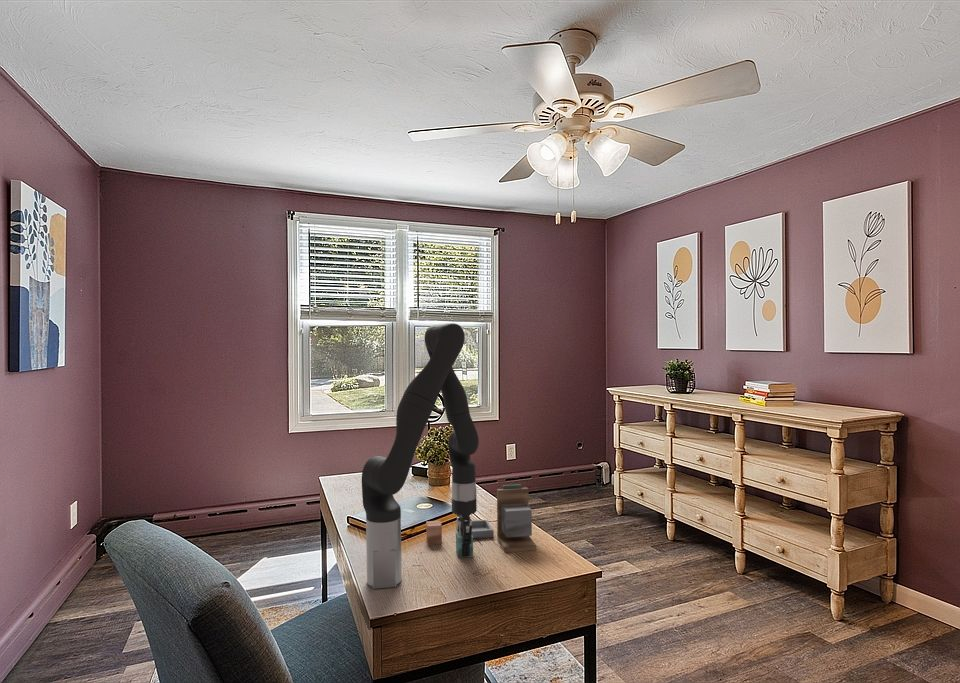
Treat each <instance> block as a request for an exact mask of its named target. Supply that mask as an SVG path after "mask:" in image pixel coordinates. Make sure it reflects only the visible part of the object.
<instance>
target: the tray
mask: <svg viewBox="0 0 960 683" xmlns="http://www.w3.org/2000/svg"><path fill="white" fill-rule="evenodd" d="M457 525H458V523H457V522H456V526H457ZM471 526H472V536H473V540H481V539H483V540H484V539H493V538H494V529H493V527H492V525H491V523H490V522H489V520H488V519H478V520H472V525H471ZM456 530H457V531H456V532H458V528H457V527H456Z"/></svg>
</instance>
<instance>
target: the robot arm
mask: <svg viewBox="0 0 960 683" xmlns="http://www.w3.org/2000/svg"><path fill="white" fill-rule="evenodd" d="M424 333H425V334H424V345H425V348H426V351H427V354H428V357H429V360H428V362H426V364H425V366H424V367H423V368H422V370H420V371H419V373H417V375H416V376H414V378H413V379H412V380H411V382H410V383H409V384H408V386H407V387H406V389H405V390H404V393H403V395H402V396H401V399H400V401H399V404H398V406H397V410H396V414H395V415H396V416H395V417H396V419H395V420H396V427H395V428H396V430H395V439H394V442H393V445H392V446H391V449H390V451H389V453H388V455H387V457H385V456H380V455H377V456H372V457H370V458H369V459H368V460H367V461H366V462H365V464H364V465H363V469H362V472H361V496H362V498H361V499H362V506H363V509H364V512H365V515H366V516H365V525H366V526H365V529H366V530H365V537H366V538H365V540H366V544H365V546H366V547H365V548H366V583H367V585H368V586H370V587H371V588H372V589H373V590H374V589H375V590H376V589H386V588H387V589H388V588H396V587H397V586H398V584H400V583H401V582H402V577H403V576H402V535H401V520H402V510H401V505H400V504H399V503H398V502H397V500H396V499H395V497H394V495H396V494H397V493H399V492H400V491H401V490H402V489H403V487H404V485H405V484H406V483H405V482H406V480H407V477H408V476H409V472H410V469H411V467H412V463H413V459H414V456H415V453H416V451H417V448H418V445H419V443H420V440H421V437H422V436H423V433H424V430H425V428H426V426H427V423H428V421H429V419H430V416H431V415H432V413H433V410H434V408H435V405H436V402H437V400H438V398H439V395H440V393H441V395H442V400H443V404H444V410H445V416H446V420H447V422H448V423H449V424H450V425H451V426H452V428H453V430H452V431H451V433H450V434H449V436H448V440H447V443H448V444H447V445H448V446H447V448H448V454H449V459H450V464H451V467H452V468H451V478H452V479H451V491H450V492H451V513H452V514H455V515H456V516H457V517H456V529H457V528H458V531H457V532H459V533H460V536H461V537H462V541H461V543H462V556H463V557H462V558H467V557H466V556H469V555H470V544H471V542H472V541H471V538H472V526H471V525H472V521H473V520H472V519H471V515H474V514H476V513H477V507H478V506H477V504H478V503H477V498H478V495H477V484H476V483H477V482H476V466H475V463H474V461H473V460H472V458H471V455H474V454H475V453H476V452H477V451H478V448H479V443H480V440H479V434H478V431H477V428H476V426H475V423H474V421H473V419H472V417H471V413H470V412H471V411H470V407H469V402H468V397H467V394H466V393H467V392H466V390H465V389H464V386H463V384H462V382H461V381H460V380H459V377H458V376H457V374H456V372H455V370H454V367H453V366H454V364H455V362H456V361H457V359H458V357H459V355H460V353H461V351H462V350H463V347H464V345H465V338H466V337H465V332H464V329H463V327H462V326H461V325H459V324H458V323H454V322H448V323H447V322H446V323H437V324H432V325H430V326H429V327H428V328H427V329H426V331H425V332H424ZM457 523H458V525H457ZM462 532H463V533H462ZM465 538H468V540H465Z"/></svg>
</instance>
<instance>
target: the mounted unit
mask: <svg viewBox="0 0 960 683" xmlns="http://www.w3.org/2000/svg"><path fill="white" fill-rule="evenodd" d="M529 503H530V502H529V488H528V487H522V484H521V483H520V484H505V485H504V484H503V485H502V488H496V527H497V529H496V532H497V533H496V535H497V536H496V537H497V538H496V540H497V542H498V544H499V546H500V548H501V549H502V551H503V553H512V552H513V553H514V552H524V551H526V552H527V551H535V550H537V544H536V543H535V541H534V540H533V539H532V536H533V535H532V531H533V529H532V528H533V526H532V525H533V524H532V523H533V522H532V521H533V520H532V519H533V516H532V513H533V511H532V509H531V508H530V506H529Z"/></svg>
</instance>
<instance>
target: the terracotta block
mask: <svg viewBox="0 0 960 683" xmlns="http://www.w3.org/2000/svg"><path fill="white" fill-rule="evenodd" d="M425 523H426V524H425V528H426V530H425V531H426V532H425V536H426V540H425V541H426V545H427V546H431V545H432V546H433V544H435V545H443V539H442V538H443V535H442V533H443V532H442V531H443V528H442V527H443V525H442V522H441V520H431V521H430V520H429V521H426V522H425Z"/></svg>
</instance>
